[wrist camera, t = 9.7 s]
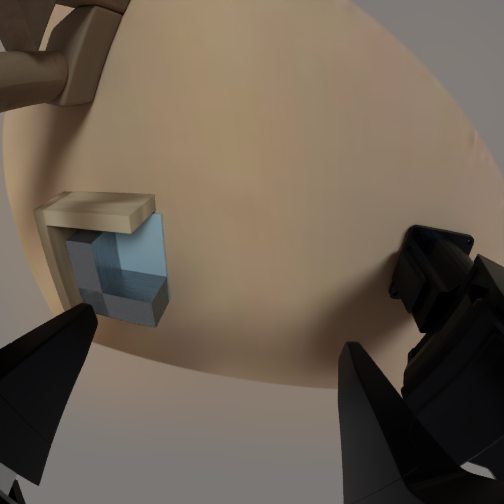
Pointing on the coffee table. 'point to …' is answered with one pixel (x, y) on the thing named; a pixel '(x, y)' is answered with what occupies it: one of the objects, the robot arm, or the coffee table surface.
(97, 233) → the bracket
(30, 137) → the coffee table surface
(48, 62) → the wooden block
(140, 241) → the pad
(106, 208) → the corner walls
